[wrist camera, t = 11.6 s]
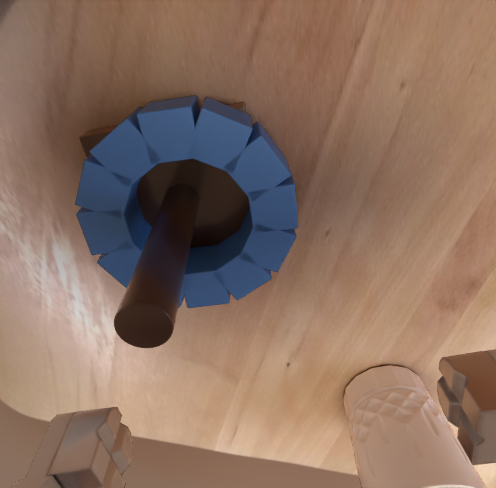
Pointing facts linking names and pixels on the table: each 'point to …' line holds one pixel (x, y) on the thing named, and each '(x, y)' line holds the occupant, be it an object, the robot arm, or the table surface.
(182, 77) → the table surface
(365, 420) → the white cup
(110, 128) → the post
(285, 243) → the ring
